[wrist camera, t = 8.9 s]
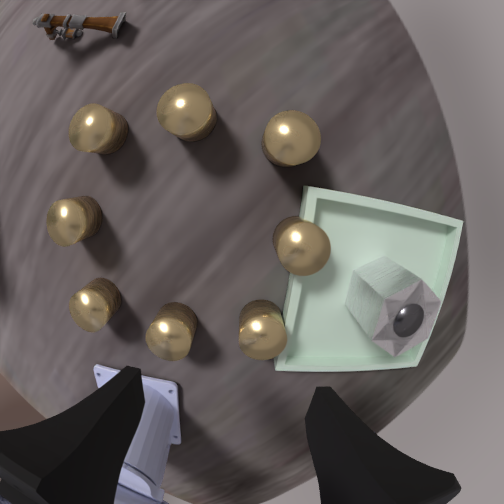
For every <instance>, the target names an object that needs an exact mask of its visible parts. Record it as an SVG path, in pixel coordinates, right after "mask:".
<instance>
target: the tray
mask: <svg viewBox="0 0 504 504" xmlns="http://www.w3.org/2000/svg"><path fill="white" fill-rule="evenodd" d="M299 217H301V218H302V219H304V220H308V221H310V222H312V223H314V224H316V225H317V226H319V227H320V228H321V229H323V230H324V231H325V233H326V234H327V236H328V237H329V240H330V244H331V253H330V257H329V259H328V261H327V263H326V264H325V266H324V267H323V268H322V269H321V270H320V271H318V272H316V273H314V274H312V275H308V276H298V275H294V274H292V273H290V276H289V281H288V287H287V292H286V298H285V303H284V309H283V314H282V319H283V323H284V327H285V330H286V334H287V344H286V347H285V348H284V350H283V351H282V352H281V353H280V354H279V355H278V356H276V357H274V365H275V370H278V371H309V372H336V371H366V370H383V369H395V368H406V367H415V366H417V365H418V363H419V361H420V358H421V356H422V354H423V352H424V349H425V347H426V345H427V342H428V340H429V338H430V335H431V333H432V330H433V328H434V325H435V322H436V320H437V317H438V314H439V311H440V308H441V306H442V303H443V300H444V296H445V293H446V290H447V287H448V283H449V280H450V277H451V273H452V269H453V265H454V262H455V258H456V253H457V249H458V245H459V240H460V235H461V230H462V225H463V221H461V220H457V219H454V218H450V217H447V216H443V215H440V214H436V213H432V212H429V211H425V210H421V209H417V208H413V207H409V206H405V205H401V204H396V203H392V202H388V201H383V200H379V199H374V198H369V197H364V196H359V195H355V194H349V193H344V192H339V191H333V190H328V189H322V188H316V187H310V186H303V193H302V200H301V207H300V214H299ZM382 256H386V257H387V258H389V259H391V260H392V261H394V262H396V263H397V264H399V265H400V266H402V267H404V268H405V269H407V270H408V271H410V272H412V273H413V274H415V275H416V276H418V277H420V278H421V279H422V280H423V281H424V282H425V283H426V284H427V285H428V286H429V288H430V289H431V290H432V291H433V292H434V293H435V294H436V296H437V297H438V298H439V299H440V300H441V301H442V302H441V305H440V308H439V311H438V313H437V316H436V319H435V322H434V324H433V327H432V330H431V332H430V335H429V337H428V339H426V340H425V341H423V342H421V343H419V344H418V345H416V346H414V347H413V348H411V349H409V350H407V351H405V352H404V353H402V354H400V355H398V356H396V357H394V356H392V355H391V354H390V353H388V352H387V351H385V350H384V349H383V348H381V347H380V346H378V345H377V344H376V343H374V342H373V341H371V339H370V338H369V337H368V335H367V334H366V332H365V331H364V330H363V328H362V327H361V326H360V324H359V323H358V322H357V320H356V319H355V317H354V316H353V315H352V313H351V312H350V311H349V309H348V308H347V307H346V305H345V300H346V296H347V292H348V288H349V284H350V280H351V276H352V271H353V270H354V269H356V268H358V267H360V266H363V265H365V264H367V263H369V262H371V261H373V260H375V259H378V258H380V257H382Z"/></svg>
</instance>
